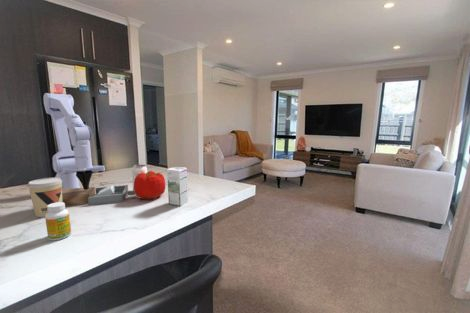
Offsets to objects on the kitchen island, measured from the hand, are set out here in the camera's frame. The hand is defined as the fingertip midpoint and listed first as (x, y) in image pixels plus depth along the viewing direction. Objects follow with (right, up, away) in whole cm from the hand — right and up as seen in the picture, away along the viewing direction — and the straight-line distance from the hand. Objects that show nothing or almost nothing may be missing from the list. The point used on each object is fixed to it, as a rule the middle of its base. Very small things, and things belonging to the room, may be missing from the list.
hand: (86, 188), depth 96 cm
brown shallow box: (-4, -5, -1) cm, 7 cm away
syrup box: (+39, -6, -2) cm, 39 cm away
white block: (+6, -1, +2) cm, 7 cm away
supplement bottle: (+11, -10, -29) cm, 32 cm away
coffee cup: (-5, -7, -12) cm, 15 cm away
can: (+17, -3, +13) cm, 22 cm away
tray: (+8, -4, +4) cm, 10 cm away
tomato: (+25, -4, +5) cm, 26 cm away
